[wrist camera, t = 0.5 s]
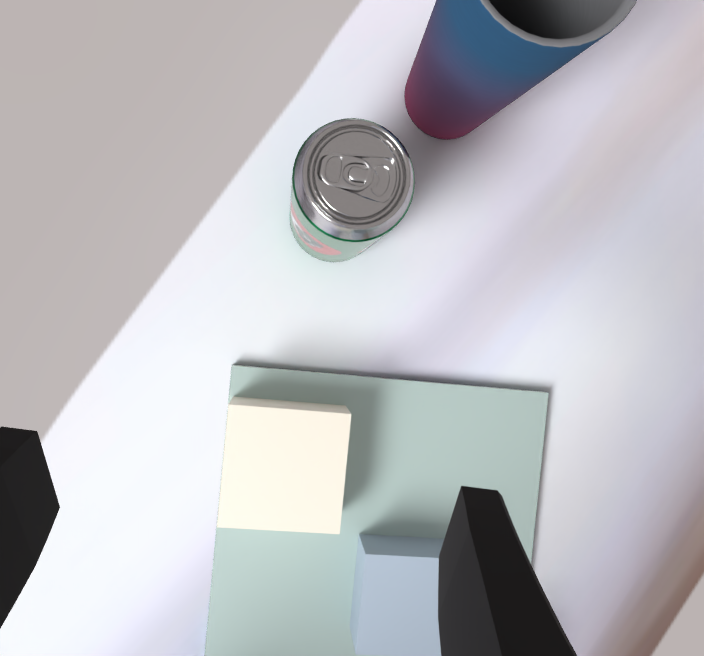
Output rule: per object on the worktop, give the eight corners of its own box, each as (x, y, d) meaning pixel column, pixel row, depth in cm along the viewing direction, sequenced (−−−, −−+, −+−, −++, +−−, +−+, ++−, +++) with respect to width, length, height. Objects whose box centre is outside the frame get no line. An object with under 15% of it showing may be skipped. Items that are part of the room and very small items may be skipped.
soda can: (367, 269, 36) (408, 249, 24) (282, 254, 36) (282, 226, 24) (382, 185, 36) (430, 123, 24) (297, 168, 36) (304, 96, 24)
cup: (426, 17, 36) (526, -190, 21) (521, 80, 37) (682, -76, 22) (368, 114, 36) (428, -25, 21) (464, 176, 37) (588, 84, 22)
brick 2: (440, 629, 37) (454, 657, 34) (349, 626, 36) (355, 654, 33) (449, 539, 37) (463, 559, 34) (358, 533, 36) (365, 554, 33)
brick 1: (335, 515, 36) (339, 534, 33) (222, 508, 35) (216, 527, 32) (345, 405, 36) (351, 413, 33) (233, 396, 35) (228, 404, 32)
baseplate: (508, 742, 38) (511, 749, 37) (197, 737, 36) (196, 744, 35) (544, 391, 38) (548, 392, 37) (232, 364, 35) (231, 365, 35)
